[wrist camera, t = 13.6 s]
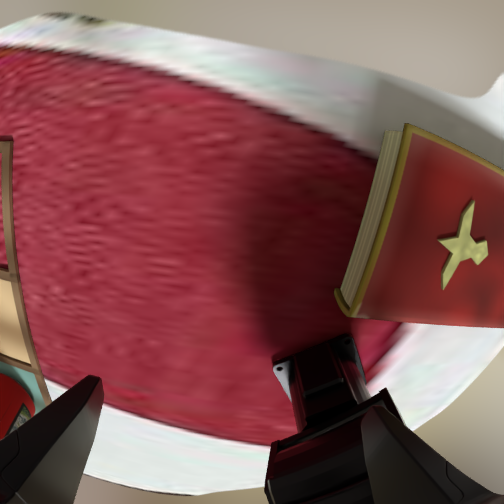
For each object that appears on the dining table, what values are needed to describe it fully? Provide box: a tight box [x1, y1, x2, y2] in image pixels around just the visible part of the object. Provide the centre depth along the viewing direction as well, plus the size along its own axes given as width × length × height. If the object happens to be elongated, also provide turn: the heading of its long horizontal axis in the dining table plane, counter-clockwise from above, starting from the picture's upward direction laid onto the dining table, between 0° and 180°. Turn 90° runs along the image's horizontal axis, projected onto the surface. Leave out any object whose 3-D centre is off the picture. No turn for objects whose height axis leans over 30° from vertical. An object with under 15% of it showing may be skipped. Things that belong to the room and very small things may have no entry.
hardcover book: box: [334, 123, 504, 328], centre depth 19 cm, size 12×21×4 cm, turn 79°
